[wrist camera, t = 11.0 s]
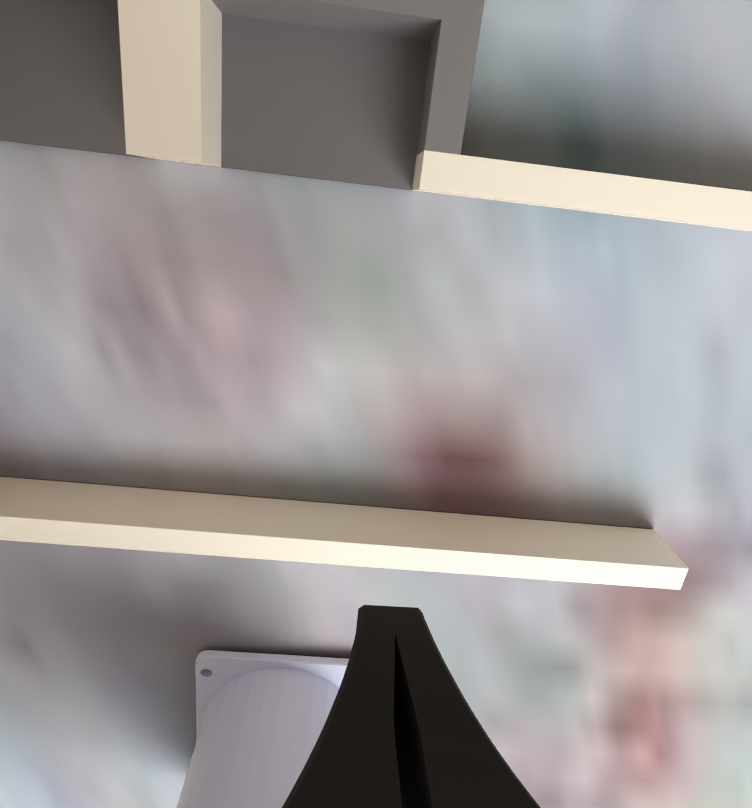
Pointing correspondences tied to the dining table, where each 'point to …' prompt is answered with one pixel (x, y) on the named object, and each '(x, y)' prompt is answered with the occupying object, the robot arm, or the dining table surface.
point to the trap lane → (321, 159)
